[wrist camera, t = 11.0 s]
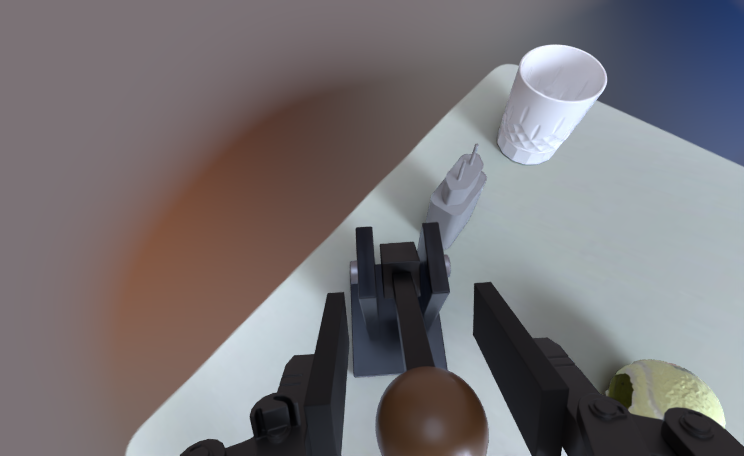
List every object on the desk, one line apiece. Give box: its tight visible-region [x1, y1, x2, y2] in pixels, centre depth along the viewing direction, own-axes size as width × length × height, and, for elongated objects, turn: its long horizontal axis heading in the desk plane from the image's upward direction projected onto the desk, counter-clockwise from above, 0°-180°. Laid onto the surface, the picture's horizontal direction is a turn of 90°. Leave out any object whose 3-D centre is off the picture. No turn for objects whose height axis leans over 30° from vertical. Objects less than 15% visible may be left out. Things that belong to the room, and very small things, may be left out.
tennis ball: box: [606, 359, 725, 428], centre depth 26 cm, size 6×7×7 cm
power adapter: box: [426, 144, 487, 249], centre depth 32 cm, size 3×5×12 cm, turn 143°
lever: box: [376, 242, 489, 456], centre depth 16 cm, size 14×4×4 cm
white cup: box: [497, 45, 607, 165], centre depth 38 cm, size 8×8×10 cm
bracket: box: [350, 222, 451, 378], centre depth 27 cm, size 10×8×15 cm
